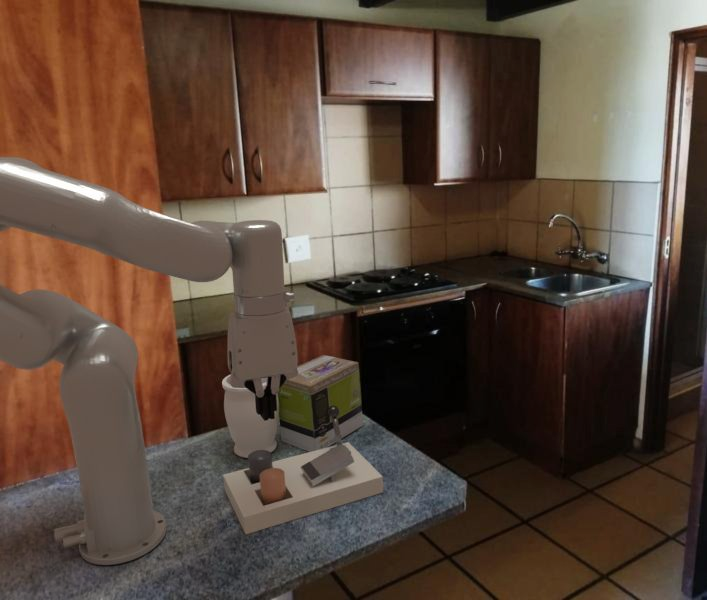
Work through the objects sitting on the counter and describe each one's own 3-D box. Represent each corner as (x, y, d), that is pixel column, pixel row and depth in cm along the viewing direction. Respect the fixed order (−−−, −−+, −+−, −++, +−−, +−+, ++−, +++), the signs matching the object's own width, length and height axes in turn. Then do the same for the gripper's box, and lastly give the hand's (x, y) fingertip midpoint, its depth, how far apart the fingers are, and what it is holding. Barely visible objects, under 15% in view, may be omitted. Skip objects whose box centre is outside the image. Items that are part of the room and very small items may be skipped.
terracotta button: (265, 509, 93) (263, 483, 92) (258, 496, 97) (256, 472, 96) (289, 502, 95) (287, 477, 94) (281, 489, 98) (279, 465, 97)
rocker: (313, 486, 97) (310, 480, 96) (302, 472, 101) (300, 466, 101) (354, 461, 99) (352, 455, 99) (342, 449, 104) (340, 443, 103)
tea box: (328, 415, 130) (325, 352, 127) (363, 427, 124) (361, 361, 120) (279, 442, 119) (274, 373, 116) (315, 456, 113) (311, 384, 109)
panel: (245, 534, 90) (243, 510, 89) (224, 490, 103) (222, 468, 102) (383, 492, 100) (382, 469, 99) (349, 456, 112) (348, 436, 111)
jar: (267, 431, 124) (261, 364, 120) (291, 449, 116) (286, 378, 112) (220, 447, 118) (212, 377, 114) (242, 467, 110) (235, 393, 106)
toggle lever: (337, 451, 106) (329, 407, 106) (332, 450, 108) (324, 406, 108) (348, 448, 107) (340, 404, 107) (343, 447, 109) (335, 404, 109)
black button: (253, 487, 99) (251, 463, 98) (247, 476, 103) (245, 453, 102) (276, 481, 101) (274, 457, 100) (269, 470, 104) (267, 447, 103)
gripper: (298, 293, 94) (302, 399, 99) (204, 304, 88) (214, 417, 92) (315, 302, 88) (319, 416, 92) (215, 316, 82) (225, 436, 86)
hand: (266, 416), depth 92 cm, fingers closed
